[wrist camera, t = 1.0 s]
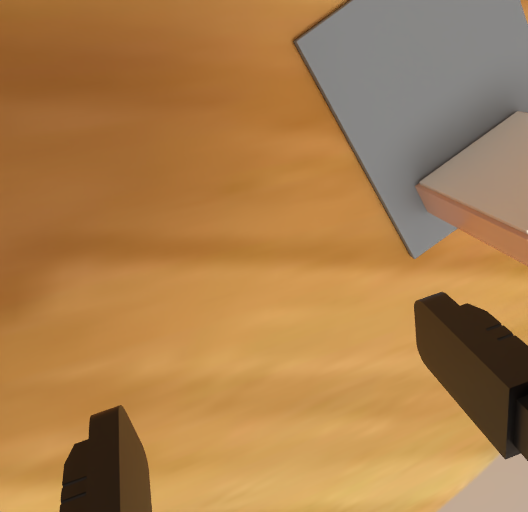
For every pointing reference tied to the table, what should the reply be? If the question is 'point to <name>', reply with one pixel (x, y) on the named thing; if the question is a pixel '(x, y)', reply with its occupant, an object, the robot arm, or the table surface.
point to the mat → (418, 90)
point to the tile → (486, 188)
